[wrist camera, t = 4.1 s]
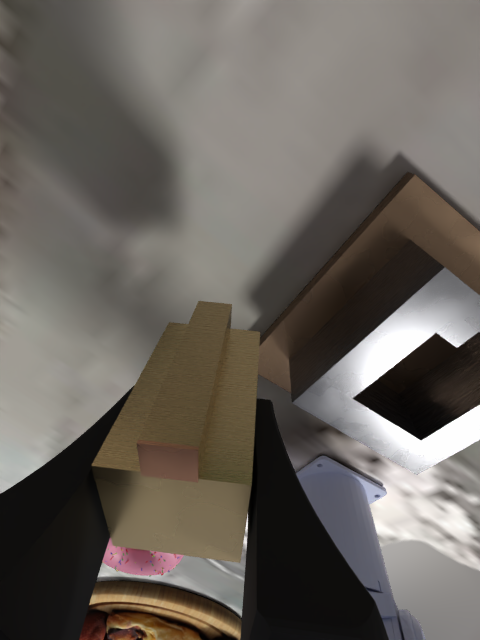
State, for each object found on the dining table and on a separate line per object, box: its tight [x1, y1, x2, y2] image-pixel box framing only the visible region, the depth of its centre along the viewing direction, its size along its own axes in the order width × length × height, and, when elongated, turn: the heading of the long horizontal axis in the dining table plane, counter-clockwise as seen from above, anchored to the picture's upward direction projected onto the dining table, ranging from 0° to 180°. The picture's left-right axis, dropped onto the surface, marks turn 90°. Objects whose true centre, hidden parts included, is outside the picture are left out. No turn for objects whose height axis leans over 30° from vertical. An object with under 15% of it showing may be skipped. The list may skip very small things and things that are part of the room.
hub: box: [258, 172, 480, 475], centre depth 19 cm, size 15×15×5 cm
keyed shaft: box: [91, 301, 260, 563], centre depth 11 cm, size 5×4×7 cm
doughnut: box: [102, 537, 184, 577], centre depth 36 cm, size 11×11×4 cm
